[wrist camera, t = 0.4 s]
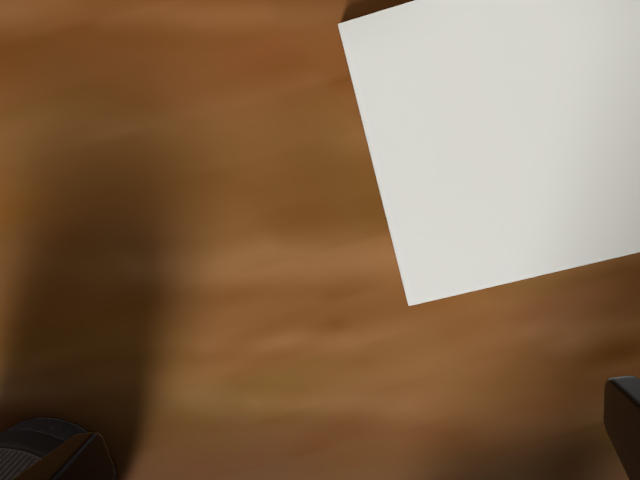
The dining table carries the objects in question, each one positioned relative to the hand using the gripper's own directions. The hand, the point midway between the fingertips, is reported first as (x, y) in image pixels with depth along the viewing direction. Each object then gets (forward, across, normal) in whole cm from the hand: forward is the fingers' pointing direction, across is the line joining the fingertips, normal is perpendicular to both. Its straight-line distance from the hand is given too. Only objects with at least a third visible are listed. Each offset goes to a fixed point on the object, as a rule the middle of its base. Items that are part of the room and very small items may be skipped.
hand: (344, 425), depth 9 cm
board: (+14, -8, -2) cm, 16 cm away
